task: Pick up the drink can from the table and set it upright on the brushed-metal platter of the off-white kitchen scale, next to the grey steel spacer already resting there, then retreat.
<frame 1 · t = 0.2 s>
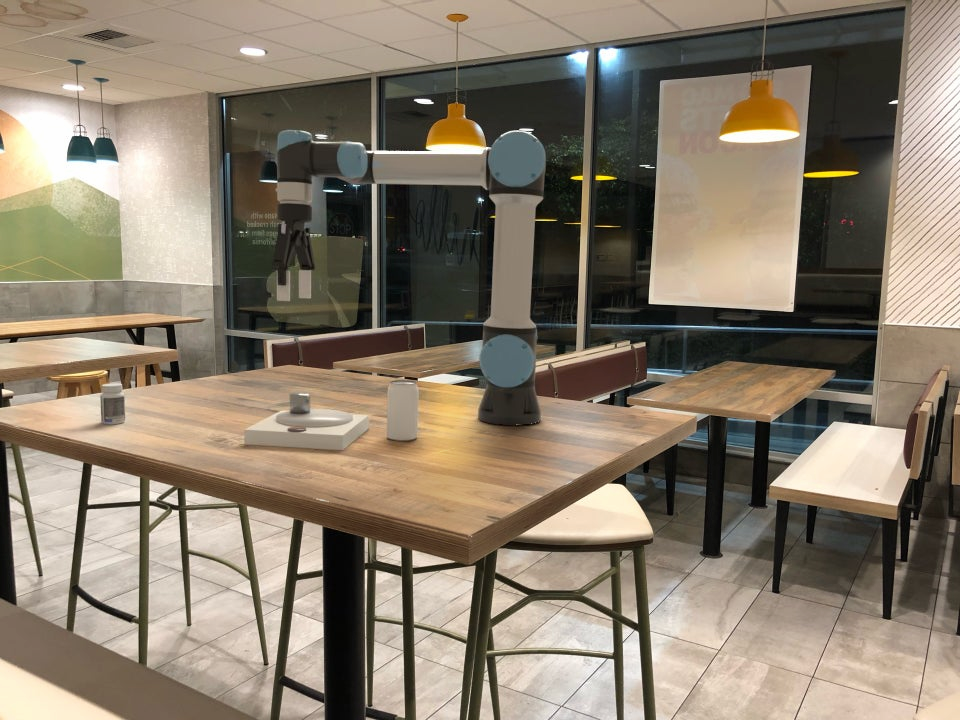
hand: (294, 299, 168), 28 cm above the table, fingers open, 13 cm apart
spacer: (300, 412, 163), point 4 cm above the table, touching scale
pill bottle: (113, 423, 163), on the table
scale: (311, 434, 157), on the table
can: (402, 438, 157), on the table
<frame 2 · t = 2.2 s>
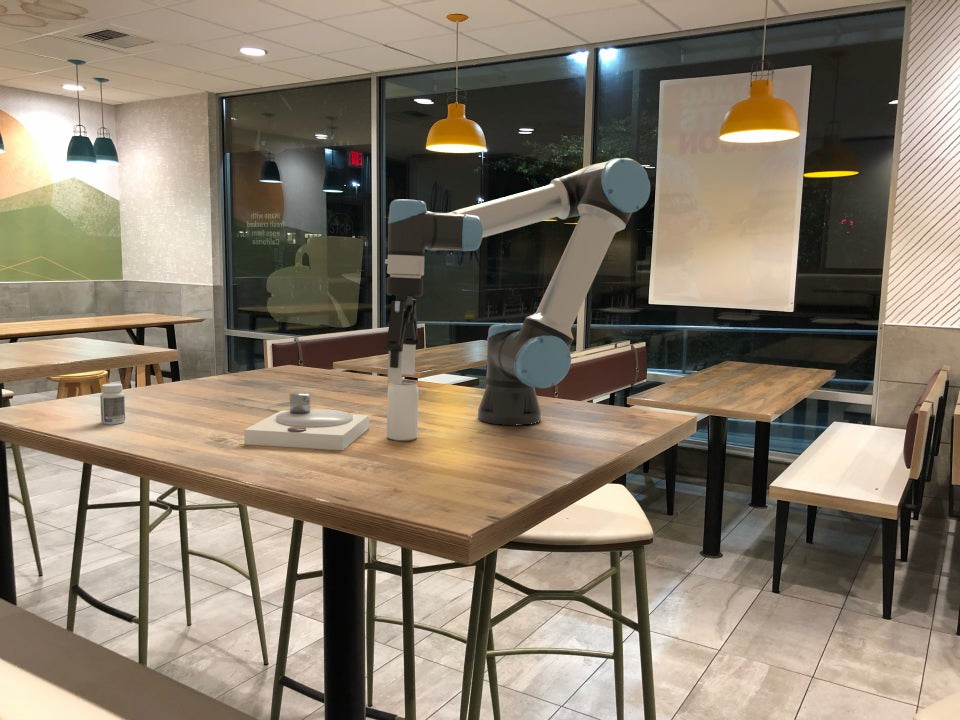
hand: (401, 378, 156), 13 cm above the table, fingers open, 13 cm apart
nothing on the table moved.
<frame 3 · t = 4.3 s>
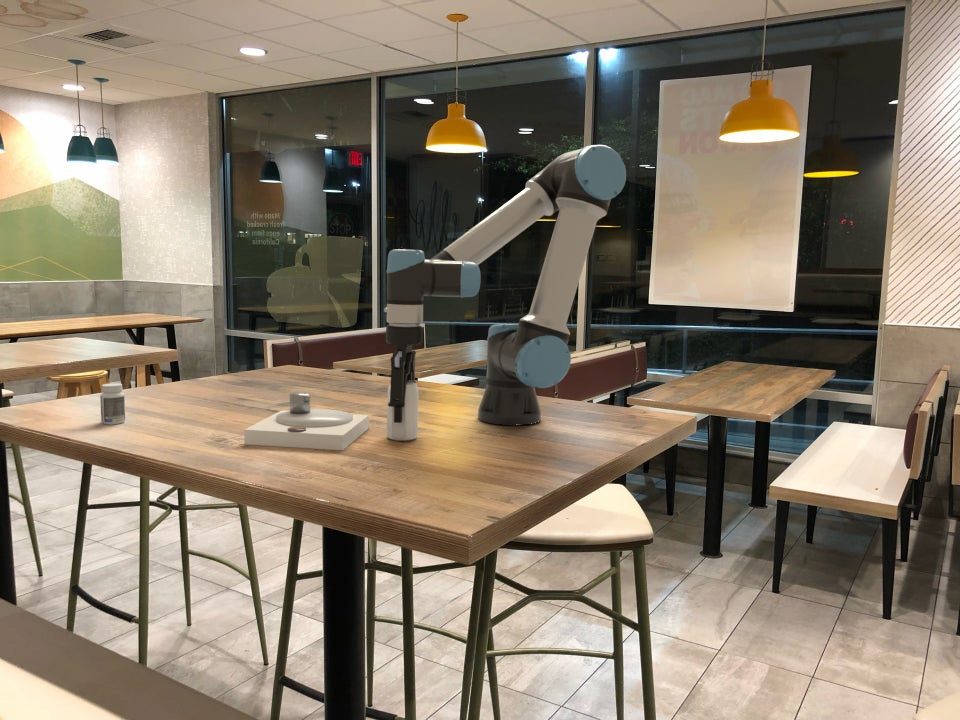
hand: (402, 433, 157), 1 cm above the table, fingers closed on can, 6 cm apart
can: (402, 438, 157), on the table, touching gripper
everything else where it was.
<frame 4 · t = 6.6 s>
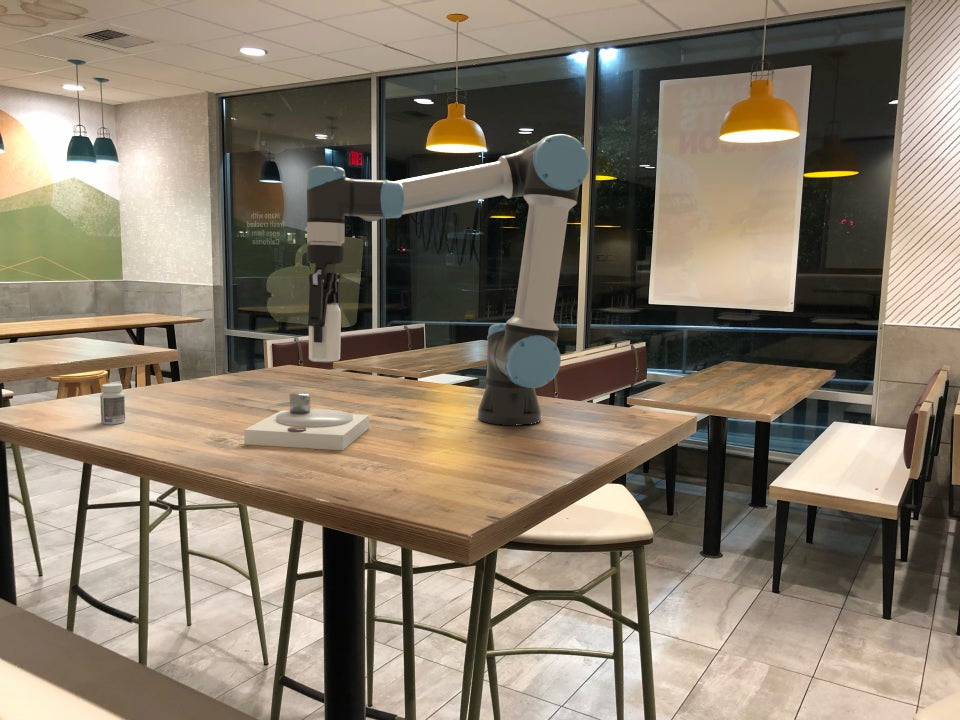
hand: (324, 356, 155), 17 cm above the table, fingers closed on can, 6 cm apart
can: (324, 361, 156), point 16 cm above the table, touching gripper
everything else where it was.
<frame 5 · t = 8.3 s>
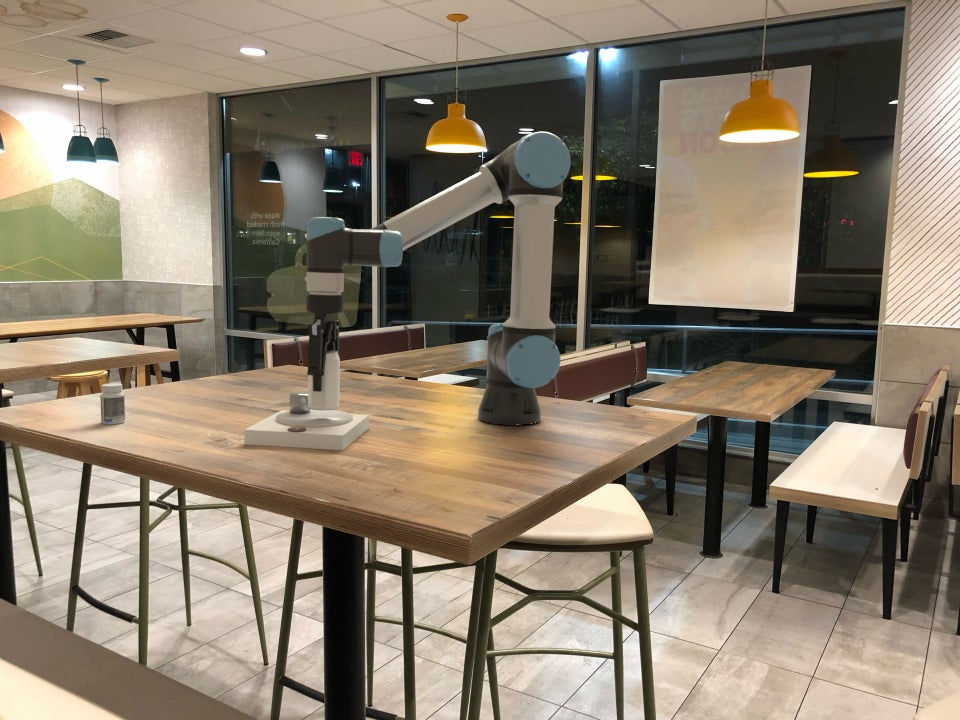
hand: (323, 403, 157), 7 cm above the table, fingers closed on can, 6 cm apart
can: (323, 408, 157), point 6 cm above the table, touching gripper
everything else where it was.
when the fingers open (6 cm above the table, at t = 9.3 s): can drops 1 cm, resting on scale.
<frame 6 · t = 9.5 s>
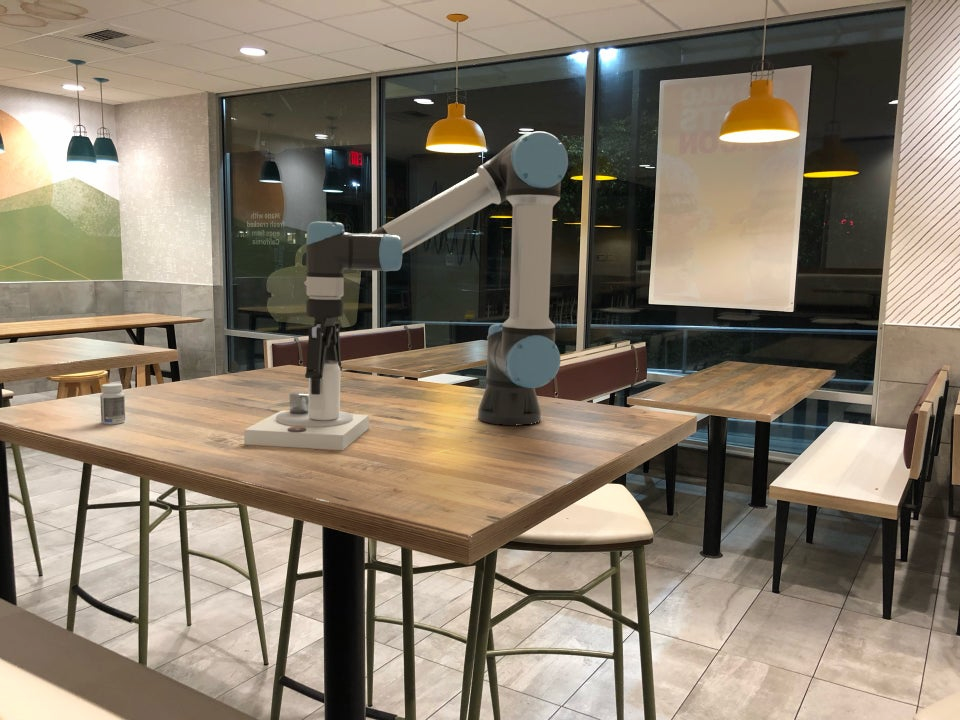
hand: (324, 405, 157), 6 cm above the table, fingers open, 9 cm apart
can: (324, 419, 157), point 3 cm above the table, touching scale
everything else where it was.
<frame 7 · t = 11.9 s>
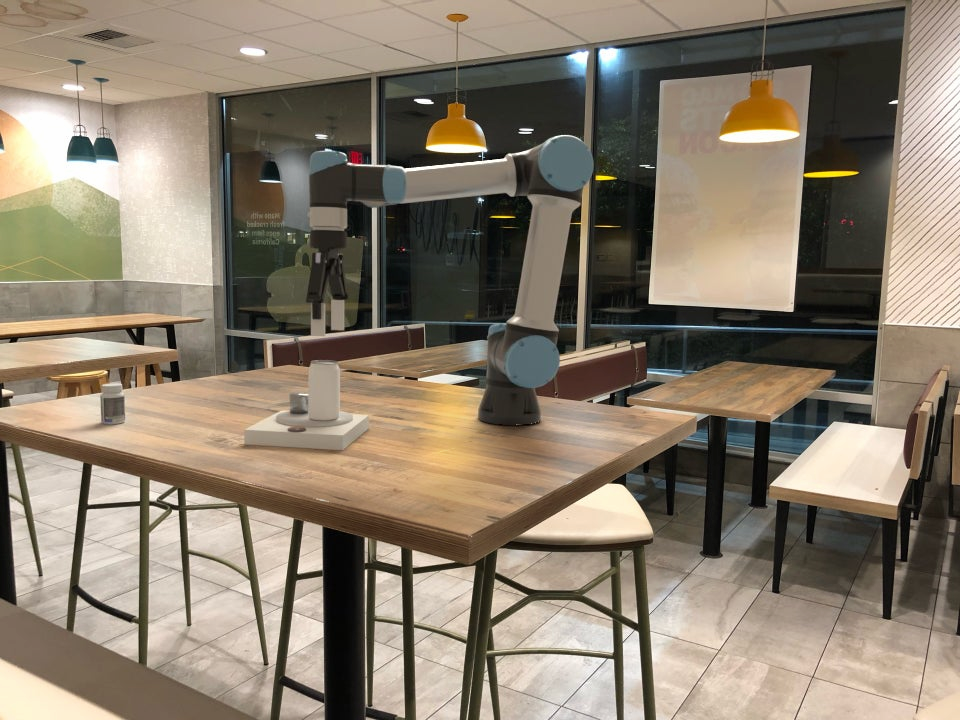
hand: (328, 333, 155), 22 cm above the table, fingers open, 13 cm apart
nothing on the table moved.
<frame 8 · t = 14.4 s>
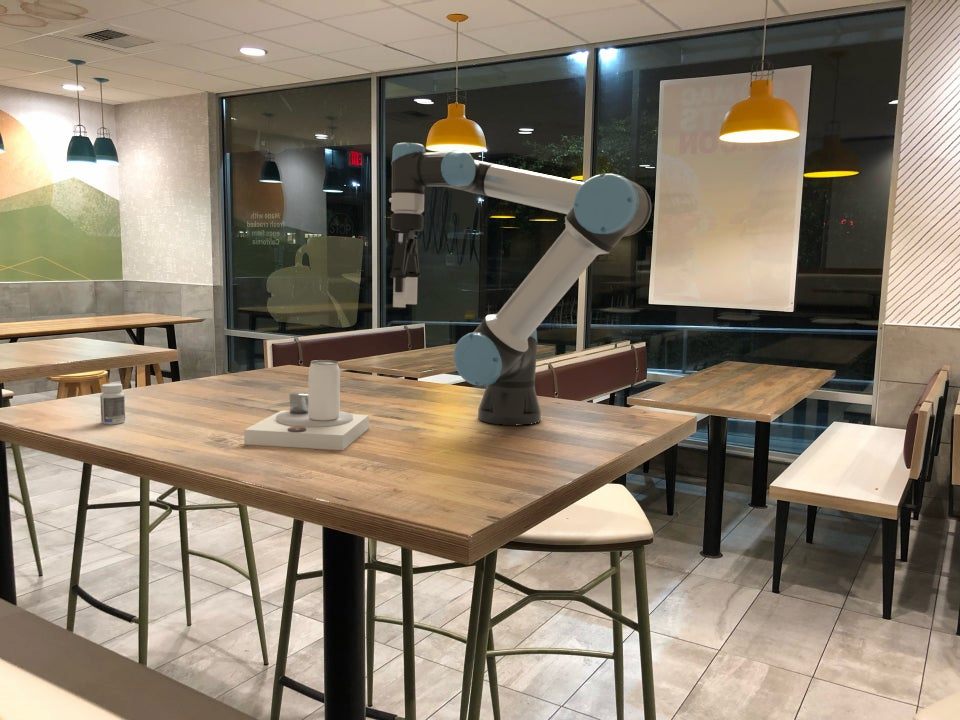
hand: (405, 305, 174), 27 cm above the table, fingers open, 13 cm apart
nothing on the table moved.
at the end: can inside the target area on the scale (3.0 cm from its centre), point 3.4 cm above the scale's base; can tilted 0°; spacer moved 0.0 cm from its start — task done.
